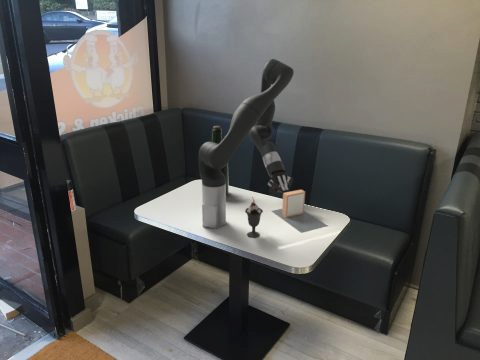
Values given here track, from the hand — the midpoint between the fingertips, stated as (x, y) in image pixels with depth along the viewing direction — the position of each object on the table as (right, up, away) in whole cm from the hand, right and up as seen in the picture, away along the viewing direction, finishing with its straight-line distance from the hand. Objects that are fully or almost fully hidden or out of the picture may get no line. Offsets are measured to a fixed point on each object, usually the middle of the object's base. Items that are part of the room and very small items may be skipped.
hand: (287, 199), depth 169 cm
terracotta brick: (+2, -6, -2) cm, 7 cm away
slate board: (+4, -8, -6) cm, 11 cm away
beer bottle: (-31, +1, +20) cm, 37 cm away
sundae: (-15, -13, -18) cm, 27 cm away
